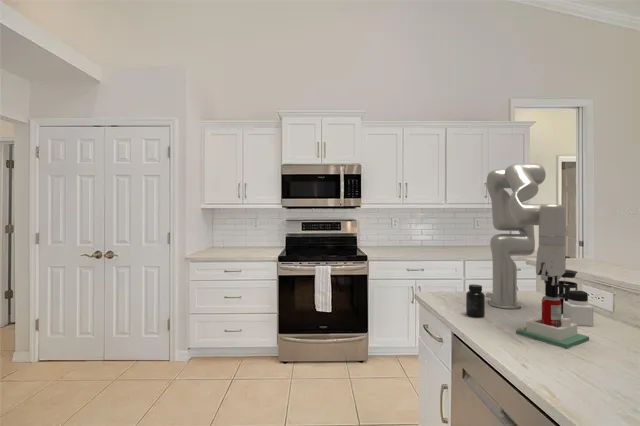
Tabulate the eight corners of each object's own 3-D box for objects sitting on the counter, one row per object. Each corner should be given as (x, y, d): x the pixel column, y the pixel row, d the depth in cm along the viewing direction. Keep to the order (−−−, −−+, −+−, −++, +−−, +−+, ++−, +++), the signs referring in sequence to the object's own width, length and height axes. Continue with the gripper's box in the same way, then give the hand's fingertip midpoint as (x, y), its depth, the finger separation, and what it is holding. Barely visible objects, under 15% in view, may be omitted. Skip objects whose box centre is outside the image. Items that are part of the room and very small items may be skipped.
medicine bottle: (593, 326, 132) (593, 293, 132) (571, 325, 134) (571, 292, 134) (583, 320, 139) (583, 289, 139) (562, 319, 141) (562, 288, 141)
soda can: (543, 329, 126) (543, 294, 126) (562, 332, 122) (562, 296, 122) (539, 333, 122) (540, 297, 122) (559, 336, 118) (559, 299, 118)
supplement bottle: (472, 312, 152) (472, 283, 151) (488, 316, 146) (488, 285, 146) (462, 314, 148) (462, 285, 148) (478, 318, 142) (478, 288, 142)
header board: (515, 333, 125) (515, 312, 125) (538, 326, 132) (538, 307, 132) (566, 348, 111) (566, 325, 111) (589, 340, 118) (589, 318, 118)
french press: (575, 309, 155) (575, 255, 154) (583, 315, 146) (583, 258, 146) (543, 307, 159) (543, 254, 158) (549, 313, 150) (549, 256, 150)
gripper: (551, 239, 129) (551, 291, 129) (527, 241, 121) (527, 297, 121) (575, 241, 122) (575, 296, 122) (551, 243, 115) (551, 302, 115)
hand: (551, 296), depth 122 cm, fingers closed
